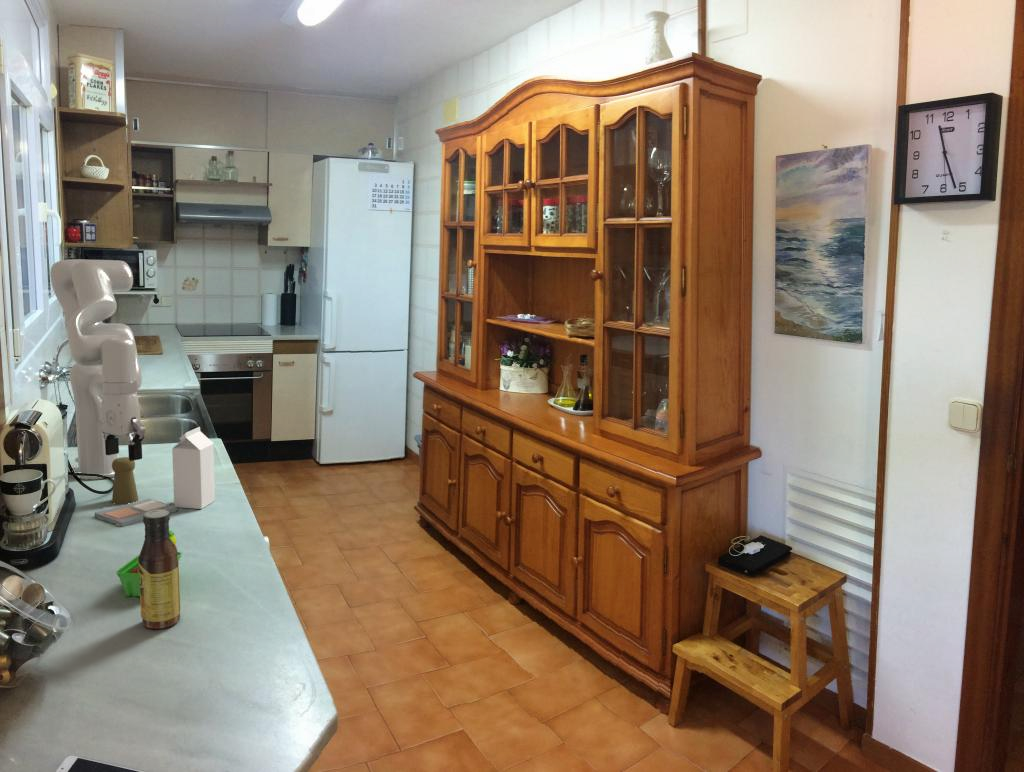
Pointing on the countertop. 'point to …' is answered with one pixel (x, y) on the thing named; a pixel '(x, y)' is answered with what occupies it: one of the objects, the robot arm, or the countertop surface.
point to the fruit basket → (135, 573)
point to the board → (132, 511)
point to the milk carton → (193, 471)
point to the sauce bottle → (158, 573)
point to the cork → (124, 481)
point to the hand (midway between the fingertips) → (123, 457)
